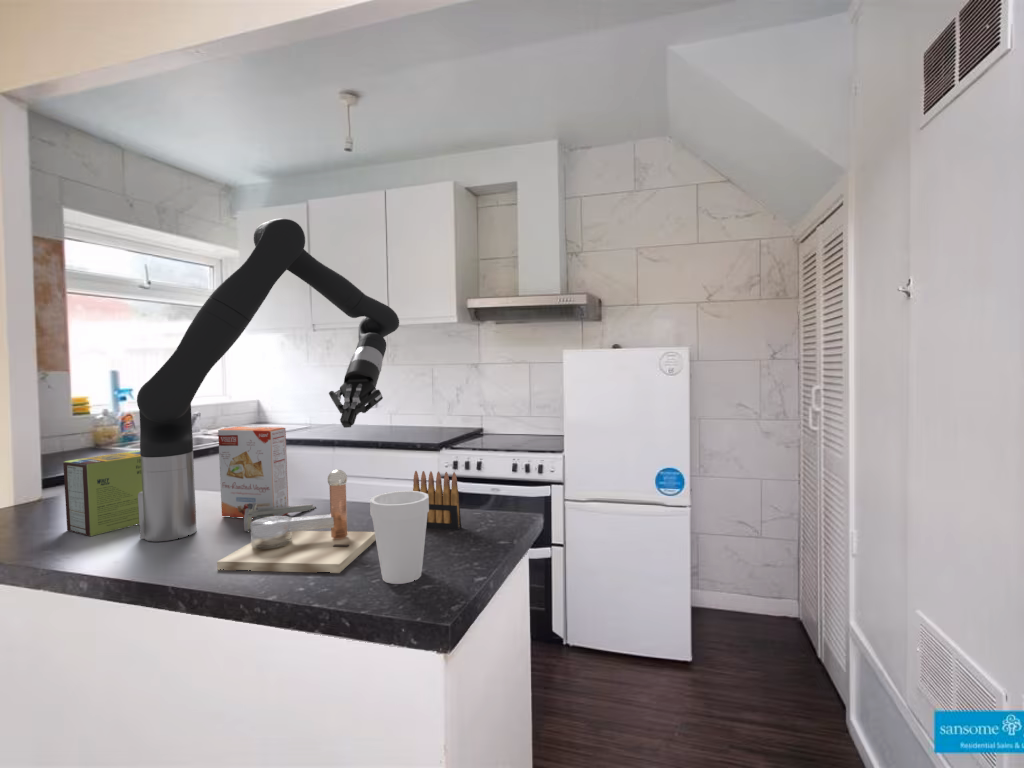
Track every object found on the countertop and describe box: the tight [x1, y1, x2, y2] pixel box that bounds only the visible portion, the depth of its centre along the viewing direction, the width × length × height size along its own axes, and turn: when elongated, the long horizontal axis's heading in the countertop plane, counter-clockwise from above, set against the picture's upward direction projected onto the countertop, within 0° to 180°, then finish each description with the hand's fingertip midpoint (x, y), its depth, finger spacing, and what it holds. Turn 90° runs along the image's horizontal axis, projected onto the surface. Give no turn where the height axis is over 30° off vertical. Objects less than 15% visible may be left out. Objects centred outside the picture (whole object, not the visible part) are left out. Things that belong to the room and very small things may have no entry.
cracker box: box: [217, 426, 289, 518], centre depth 124 cm, size 14×6×21 cm, turn 77°
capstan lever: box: [250, 469, 348, 549], centre depth 100 cm, size 17×7×13 cm, turn 106°
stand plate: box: [216, 530, 376, 574], centre depth 98 cm, size 22×17×2 cm
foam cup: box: [369, 490, 429, 585], centre depth 87 cm, size 10×9×13 cm
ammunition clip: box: [412, 470, 462, 531], centre depth 113 cm, size 11×2×12 cm, turn 74°
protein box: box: [62, 450, 142, 537], centre depth 120 cm, size 10×15×16 cm
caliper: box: [243, 503, 317, 532], centre depth 121 cm, size 20×1×6 cm, turn 159°
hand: (346, 425), depth 118 cm, fingers closed
